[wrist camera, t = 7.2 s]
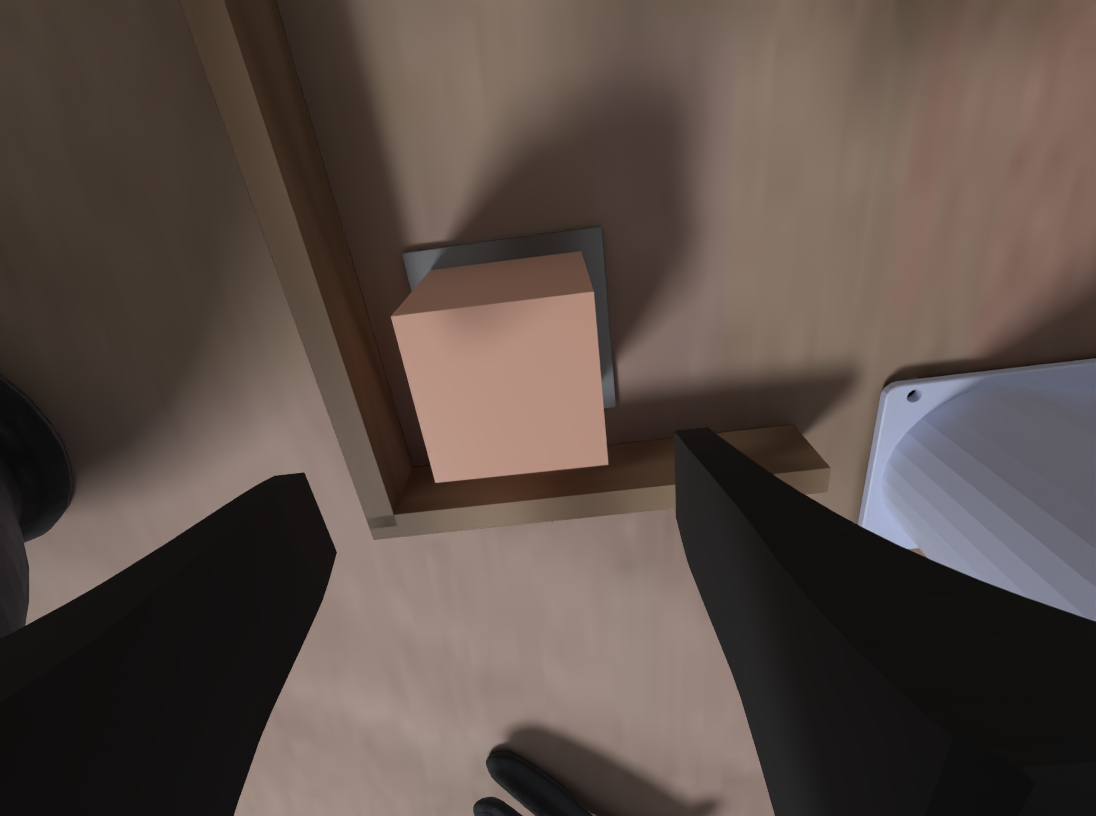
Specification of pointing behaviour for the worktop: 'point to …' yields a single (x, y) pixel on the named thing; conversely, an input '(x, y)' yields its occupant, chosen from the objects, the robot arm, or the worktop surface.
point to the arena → (339, 310)
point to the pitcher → (26, 496)
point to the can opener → (526, 790)
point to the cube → (505, 367)
